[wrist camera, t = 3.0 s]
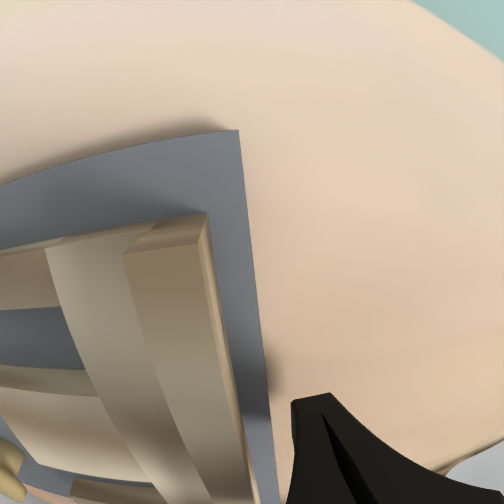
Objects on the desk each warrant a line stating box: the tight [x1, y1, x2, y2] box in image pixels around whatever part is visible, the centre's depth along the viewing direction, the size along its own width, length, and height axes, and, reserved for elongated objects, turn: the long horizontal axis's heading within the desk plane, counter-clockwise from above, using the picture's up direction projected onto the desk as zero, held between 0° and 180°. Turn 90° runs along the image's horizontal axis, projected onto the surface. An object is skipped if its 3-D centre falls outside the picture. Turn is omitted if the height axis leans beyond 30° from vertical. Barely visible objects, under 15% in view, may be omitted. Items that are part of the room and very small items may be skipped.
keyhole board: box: [0, 130, 280, 504], centre depth 8 cm, size 18×19×4 cm
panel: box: [0, 213, 261, 504], centre depth 8 cm, size 14×10×3 cm
